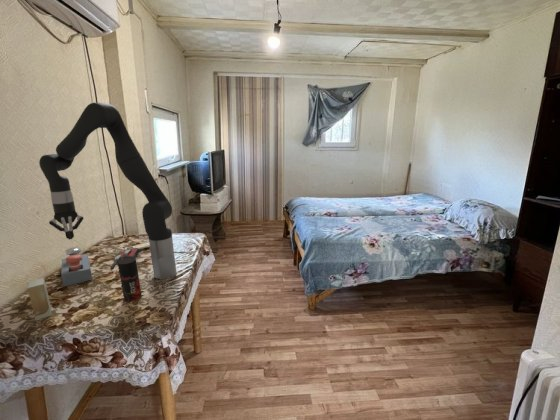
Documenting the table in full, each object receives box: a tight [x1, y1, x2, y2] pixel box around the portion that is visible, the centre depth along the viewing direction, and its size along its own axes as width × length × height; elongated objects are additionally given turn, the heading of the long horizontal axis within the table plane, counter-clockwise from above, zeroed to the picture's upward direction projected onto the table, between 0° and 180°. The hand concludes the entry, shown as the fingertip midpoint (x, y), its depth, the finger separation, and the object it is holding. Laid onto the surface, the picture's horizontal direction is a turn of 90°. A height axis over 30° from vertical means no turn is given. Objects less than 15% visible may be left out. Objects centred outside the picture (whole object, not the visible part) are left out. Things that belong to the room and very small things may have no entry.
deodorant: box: [117, 257, 142, 303], centre depth 109 cm, size 6×6×15 cm
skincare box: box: [27, 277, 52, 321], centre depth 100 cm, size 6×4×12 cm
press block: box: [60, 253, 93, 287], centre depth 130 cm, size 20×10×5 cm, turn 35°
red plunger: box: [65, 254, 82, 271], centre depth 124 cm, size 6×6×6 cm
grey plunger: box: [65, 246, 82, 257], centre depth 133 cm, size 6×6×6 cm
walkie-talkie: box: [109, 247, 140, 269], centre depth 144 cm, size 9×4×20 cm
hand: (70, 238), depth 131 cm, fingers closed
